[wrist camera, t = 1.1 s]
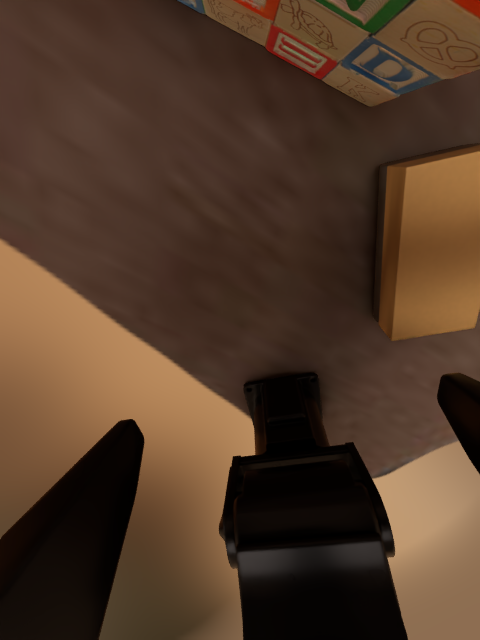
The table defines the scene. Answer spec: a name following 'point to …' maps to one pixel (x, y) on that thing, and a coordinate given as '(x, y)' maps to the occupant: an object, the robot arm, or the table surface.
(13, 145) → the table surface
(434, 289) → the chalkboard eraser
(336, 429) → the table surface
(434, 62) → the tan printed boxy piece
